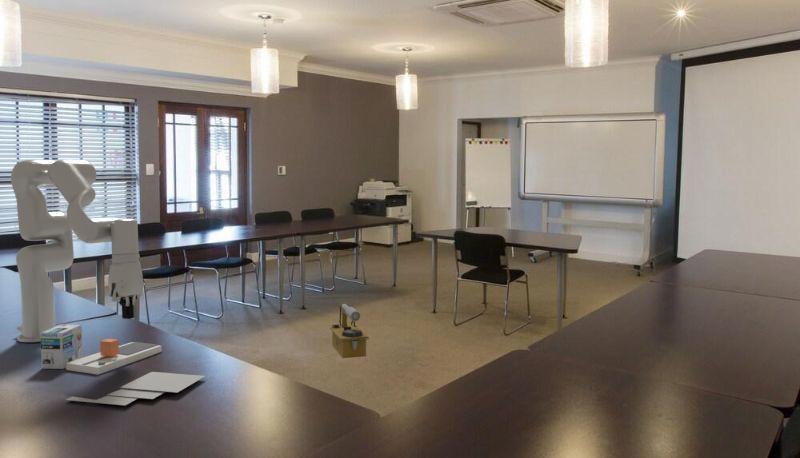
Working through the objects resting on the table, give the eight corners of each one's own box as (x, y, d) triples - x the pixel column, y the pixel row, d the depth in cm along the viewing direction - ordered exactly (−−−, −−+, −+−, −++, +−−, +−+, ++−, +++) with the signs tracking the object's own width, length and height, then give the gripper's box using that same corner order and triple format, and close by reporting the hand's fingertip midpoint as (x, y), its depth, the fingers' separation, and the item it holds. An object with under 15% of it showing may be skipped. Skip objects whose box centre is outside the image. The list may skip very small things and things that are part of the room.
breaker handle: (100, 355, 181) (100, 340, 181) (108, 352, 184) (108, 338, 184) (110, 356, 180) (110, 342, 179) (118, 354, 183) (118, 339, 182)
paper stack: (155, 408, 147) (155, 405, 146) (65, 400, 151) (65, 397, 151) (205, 378, 169) (205, 375, 169) (125, 372, 174) (125, 369, 174)
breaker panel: (66, 369, 175) (65, 360, 175) (132, 348, 198) (131, 340, 198) (98, 374, 171) (97, 365, 170) (161, 351, 194) (161, 343, 194)
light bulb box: (63, 369, 175) (62, 332, 174) (40, 369, 175) (39, 332, 175) (83, 358, 186) (82, 324, 185) (61, 358, 186) (60, 323, 185)
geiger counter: (341, 360, 187) (341, 312, 186) (324, 339, 211) (324, 297, 210) (369, 358, 189) (369, 310, 188) (350, 338, 214) (350, 295, 213)
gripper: (134, 256, 195) (136, 312, 196) (96, 261, 181) (99, 322, 182) (153, 256, 192) (155, 314, 193) (116, 262, 178) (118, 324, 179)
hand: (128, 318), depth 187 cm, fingers closed
